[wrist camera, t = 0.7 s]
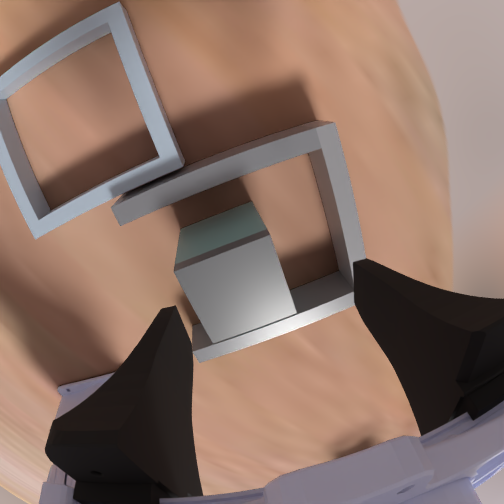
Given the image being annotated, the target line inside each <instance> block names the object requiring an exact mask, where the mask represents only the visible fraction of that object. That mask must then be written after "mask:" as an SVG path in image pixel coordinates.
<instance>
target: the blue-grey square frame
mask: <svg viewBox="0 0 504 504" xmlns="http://www.w3.org/2000/svg"><path fill="white" fill-rule="evenodd" d="M109 33H112V36H113V38H114V41H115V44H116V47H117V50H118V52H119V55H120V58H121V60H122V63H123V66H124V68H125V71H126V74H127V76H128V79H129V82H130V84H131V87H132V90H133V92H134V95H135V97H136V100H137V102H138V105H139V107H140V110H141V112H142V115H143V118H144V120H145V122H146V125H147V127H148V130H149V132H150V135H151V137H152V140H153V142H154V145H155V147H156V149H157V152H158V154H159V156H157V157H155V158H153V159H150V160H148V161H146V162H144V163H142V164H139V165H137V166H135V167H133V168H131V169H129V170H127V171H125V172H122V173H120V174H118V175H116V176H114V177H112V178H110V179H108V180H106V181H104V182H102V183H100V184H98V185H97V186H95V187H93V188H91V189H89V190H87V191H85V192H83V193H81V194H80V195H78V196H76V197H74V198H72V199H70V200H69V201H67V202H65V203H63V204H62V205H60V206H58V207H56V208H55V209H53V210H50V208H49V206H48V204H47V202H46V199H45V197H44V195H43V193H42V191H41V189H40V186H39V184H38V182H37V180H36V178H35V175H34V173H33V171H32V168H31V166H30V163H29V161H28V159H27V156H26V154H25V151H24V149H23V146H22V143H21V141H20V138H19V135H18V133H17V130H16V127H15V124H14V121H13V119H12V116H11V113H10V110H9V106H8V103H7V100H6V99H7V98H8V97H10V96H11V95H12V94H14V93H15V92H16V91H17V90H19V89H20V88H21V87H23V86H24V85H25V84H27V83H28V82H30V81H31V80H32V79H34V78H35V77H37V76H38V75H39V74H41V73H42V72H44V71H45V70H47V69H48V68H50V67H51V66H53V65H54V64H56V63H58V62H59V61H61V60H62V59H64V58H66V57H67V56H69V55H71V54H72V53H74V52H76V51H77V50H79V49H81V48H83V47H84V46H86V45H88V44H90V43H92V42H93V41H95V40H97V39H99V38H101V37H103V36H105V35H107V34H109ZM184 163H185V160H184V158H183V155H182V153H181V150H180V148H179V145H178V143H177V140H176V138H175V135H174V133H173V130H172V128H171V125H170V123H169V120H168V118H167V115H166V113H165V110H164V108H163V105H162V103H161V100H160V98H159V95H158V92H157V90H156V87H155V85H154V82H153V80H152V77H151V74H150V72H149V69H148V67H147V64H146V61H145V59H144V56H143V53H142V51H141V48H140V45H139V43H138V40H137V37H136V35H135V32H134V29H133V27H132V24H131V21H130V18H129V16H128V13H127V11H126V9H125V8H124V7H123V6H122V4H121V3H120V2H117V3H115V4H113V5H111V6H109V7H107V8H105V9H103V10H101V11H99V12H97V13H95V14H93V15H91V16H89V17H87V18H86V19H84V20H82V21H80V22H78V23H77V24H75V25H73V26H72V27H70V28H68V29H67V30H65V31H63V32H62V33H60V34H58V35H57V36H55V37H54V38H52V39H51V40H49V41H48V42H46V43H44V44H43V45H42V46H40V47H39V48H37V49H36V50H34V51H33V52H31V53H30V54H29V55H27V56H26V57H25V58H23V59H22V60H21V61H19V62H18V63H17V64H15V65H14V66H13V67H11V68H10V69H9V70H8V71H6V72H5V73H4V74H3V75H1V76H0V165H1V167H2V170H3V172H4V175H5V177H6V180H7V182H8V184H9V186H10V189H11V191H12V193H13V195H14V198H15V200H16V202H17V204H18V206H19V208H20V210H21V213H22V215H23V217H24V219H25V221H26V223H27V225H28V227H29V228H30V230H31V232H32V234H33V236H34V238H35V239H37V238H39V237H41V236H42V235H44V234H46V233H48V232H49V231H51V230H53V229H55V228H57V227H58V226H60V225H62V224H64V223H66V222H68V221H69V220H71V219H73V218H75V217H77V216H79V215H81V214H83V213H85V212H87V211H88V210H90V209H92V208H94V207H96V206H98V205H100V204H102V203H104V202H106V201H108V200H110V199H113V198H115V197H117V196H119V195H121V194H123V193H125V192H127V191H129V190H131V189H134V188H136V187H138V186H140V185H142V184H145V183H147V182H149V181H151V180H153V179H156V178H158V177H160V176H163V175H165V174H167V173H170V172H172V171H174V170H177V169H179V168H181V167H183V166H184Z"/></svg>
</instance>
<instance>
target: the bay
mask: <svg viewBox="0 0 504 504" xmlns="http://www.w3.org/2000/svg"><path fill="white" fill-rule="evenodd" d="M306 153H309V157H310V160H311V163H312V167H313V170H314V174H315V177H316V181H317V184H318V188H319V192H320V195H321V199H322V203H323V206H324V210H325V214H326V218H327V222H328V226H329V230H330V234H331V238H332V242H333V246H334V250H335V254H336V259H337V263H338V268H339V271H337V272H335V273H332V274H330V275H328V276H325V277H323V278H320V279H318V280H315V281H313V282H310V283H307V284H305V285H302V286H300V287H297V288H295V289H292V290H290V294H291V297H292V300H293V303H294V306H295V309H296V312H297V313H296V314H293V315H291V316H288V317H285V318H283V319H280V320H277V321H275V322H272V323H269V324H267V325H264V326H261V327H259V328H256V329H253V330H250V331H248V332H245V333H242V334H239V335H236V336H233V337H230V338H228V339H225V340H222V341H219V342H216V343H213V342H212V341H211V339H210V337H209V335H208V334H207V332H206V330H205V328H204V327H203V325H202V323H199V324H197V325H194V326H192V352H193V354H194V355H195V357H196V358H197V360H198V361H199V363H201V362H204V361H207V360H210V359H213V358H216V357H219V356H222V355H225V354H228V353H231V352H234V351H237V350H240V349H243V348H246V347H249V346H252V345H255V344H257V343H260V342H263V341H266V340H268V339H271V338H274V337H277V336H279V335H282V334H285V333H287V332H290V331H293V330H295V329H298V328H300V327H303V326H305V325H308V324H311V323H313V322H316V321H318V320H321V319H323V318H325V317H328V316H330V315H333V314H335V313H338V312H340V311H342V310H345V309H347V308H349V307H352V306H354V305H355V303H354V281H353V262H355V261H358V260H362V259H366V255H365V249H364V244H363V238H362V233H361V228H360V223H359V218H358V213H357V208H356V204H355V199H354V194H353V190H352V186H351V181H350V177H349V173H348V169H347V165H346V161H345V157H344V153H343V149H342V146H341V142H340V138H339V135H338V131H337V127H336V124H335V122H328V121H319V120H316V121H313V122H309V123H306V124H303V125H300V126H296V127H293V128H290V129H287V130H284V131H281V132H278V133H275V134H272V135H269V136H266V137H263V138H260V139H257V140H254V141H251V142H248V143H245V144H243V145H240V146H237V147H234V148H232V149H229V150H226V151H224V152H221V153H218V154H216V155H213V156H211V157H208V158H205V159H203V160H200V161H198V162H195V163H193V164H190V165H188V166H186V167H183V168H181V169H178V170H176V171H174V172H171V173H169V174H167V175H164V176H162V177H160V178H157V179H155V180H153V181H151V182H148V183H146V184H144V185H142V186H140V187H137V188H135V189H133V190H131V191H129V192H127V193H124V194H123V195H122V196H121V197H120V198H119V199H118V200H117V201H116V203H115V204H114V205H113V206H112V207H111V209H112V211H113V213H114V215H115V217H116V219H117V221H118V223H119V225H120V226H122V225H124V224H126V223H128V222H131V221H133V220H135V219H137V218H140V217H142V216H144V215H146V214H149V213H151V212H153V211H156V210H158V209H160V208H163V207H165V206H167V205H170V204H172V203H175V202H177V201H179V200H182V199H184V198H187V197H189V196H192V195H194V194H196V193H199V192H201V191H204V190H206V189H209V188H212V187H214V186H217V185H219V184H222V183H224V182H227V181H230V180H232V179H235V178H238V177H240V176H243V175H246V174H248V173H251V172H254V171H257V170H259V169H262V168H265V167H268V166H271V165H273V164H276V163H279V162H282V161H285V160H288V159H291V158H294V157H297V156H300V155H303V154H306Z"/></svg>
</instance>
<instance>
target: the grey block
mask: <svg viewBox="0 0 504 504" xmlns="http://www.w3.org/2000/svg"><path fill="white" fill-rule="evenodd" d="M174 273H175V275H176V277H177V279H178V281H179V283H180V285H181V287H182V289H183V290H184V292H185V294H186V296H187V298H188V300H189V301H190V303H191V305H192V307H193V309H194V311H195V312H196V314H197V316H198V318H199V320H200V321H201V323H202V325H203V327H204V328H205V330H206V332H207V334H208V335H209V337H210V339H211V341H212V342H213V343H216V342H219V341H222V340H225V339H228V338H230V337H233V336H236V335H239V334H242V333H245V332H248V331H250V330H253V329H256V328H259V327H261V326H264V325H267V324H269V323H272V322H275V321H277V320H280V319H283V318H285V317H288V316H291V315H293V314H296V313H297V312H296V309H295V306H294V303H293V300H292V297H291V294H290V291H289V288H288V285H287V282H286V279H285V276H284V273H283V270H282V268H281V265H280V262H279V259H278V256H277V253H276V250H275V247H274V244H273V242H272V239H271V236H270V234H269V232H268V230H267V228H266V226H265V224H264V223H263V221H262V219H261V217H260V215H259V213H258V211H257V210H256V208H255V206H254V204H253V202H252V201H251V202H248V203H246V204H243V205H241V206H238V207H235V208H233V209H230V210H227V211H225V212H222V213H220V214H217V215H215V216H212V217H209V218H207V219H204V220H202V221H199V222H197V223H194V224H192V225H189V226H187V227H184V228H182V229H180V235H179V241H178V247H177V253H176V260H175V266H174Z"/></svg>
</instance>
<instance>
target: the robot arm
mask: <svg viewBox="0 0 504 504" xmlns="http://www.w3.org/2000/svg"><path fill="white" fill-rule="evenodd" d="M353 281H354V303H355V306H356V308H357V310H358V312H359V314H360V316H361V318H362V320H363V322H364V323H365V325H366V326H367V328H368V329H369V331H370V332H371V334H372V335H373V337H374V338H375V340H376V341H377V343H378V344H379V346H380V347H381V349H382V350H383V352H384V353H385V355H386V356H387V358H388V359H389V361H390V363H391V364H392V366H393V368H394V370H395V372H396V374H397V376H398V378H399V380H400V382H401V384H402V387H403V389H404V391H405V394H406V396H407V398H408V400H409V403H410V406H411V408H412V411H413V413H414V416H415V419H416V421H417V424H418V427H419V430H420V434H421V437H415V436H401V437H397V438H394V439H391V440H388V441H385V442H383V443H380V444H378V445H375V446H372V447H370V448H367V449H364V450H361V451H359V452H356V453H353V454H350V455H347V456H344V457H341V458H338V459H334V460H331V461H328V462H324V463H321V464H318V465H314V466H310V467H307V468H303V469H299V470H296V471H293V472H290V473H287V474H284V475H281V476H279V477H277V478H275V479H274V480H272V481H271V482H269V483H268V484H267V485H266V486H265V487H264V488H259V489H253V490H247V491H241V492H234V493H226V494H218V495H209V496H203V493H202V488H201V483H200V478H199V472H198V466H197V460H196V453H195V446H194V437H193V427H192V387H193V353H192V343H191V341H190V338H189V336H188V334H187V331H186V329H185V327H184V324H183V322H182V319H181V317H180V315H179V312H178V310H177V307H176V306H172V307H167V308H162V309H161V310H160V312H159V313H158V314H157V316H156V317H155V319H154V321H153V322H152V324H151V325H150V327H149V328H148V330H147V331H146V333H145V334H144V336H143V337H142V339H141V340H140V342H139V343H138V344H137V346H136V347H135V348H134V350H133V351H132V352H131V354H130V355H129V356H128V358H127V359H126V360H125V361H124V363H123V364H122V365H121V366H120V367H119V368H118V369H117V371H116V372H114V373H110V374H106V375H103V376H99V377H95V378H91V379H87V380H83V381H79V382H75V383H71V384H67V385H63V386H59V387H58V389H57V391H58V392H59V393H60V394H61V395H62V399H61V402H60V405H59V408H58V411H57V414H56V417H55V420H53V423H52V426H51V429H50V433H49V436H48V439H47V443H46V447H45V453H46V455H47V456H48V458H49V459H50V461H51V462H53V464H54V465H52V466H51V468H50V471H49V475H48V478H47V482H43V485H42V490H41V495H40V500H39V504H482V503H481V501H480V499H479V497H478V495H477V493H476V491H475V490H474V489H475V488H477V487H478V486H479V485H481V484H482V483H484V482H485V481H487V480H488V479H489V478H491V477H492V476H493V475H494V474H496V473H497V472H498V471H500V470H501V469H502V468H504V299H494V298H483V297H476V296H469V295H464V294H459V293H454V292H450V291H447V290H443V289H440V288H436V287H433V286H430V285H427V284H425V283H422V282H420V281H417V280H414V279H412V278H410V277H407V276H405V275H403V274H400V273H398V272H396V271H394V270H392V269H390V268H387V267H385V266H383V265H381V264H379V263H377V262H374V261H372V260H369V259H367V258H366V259H362V260H358V261H355V262H353Z"/></svg>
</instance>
